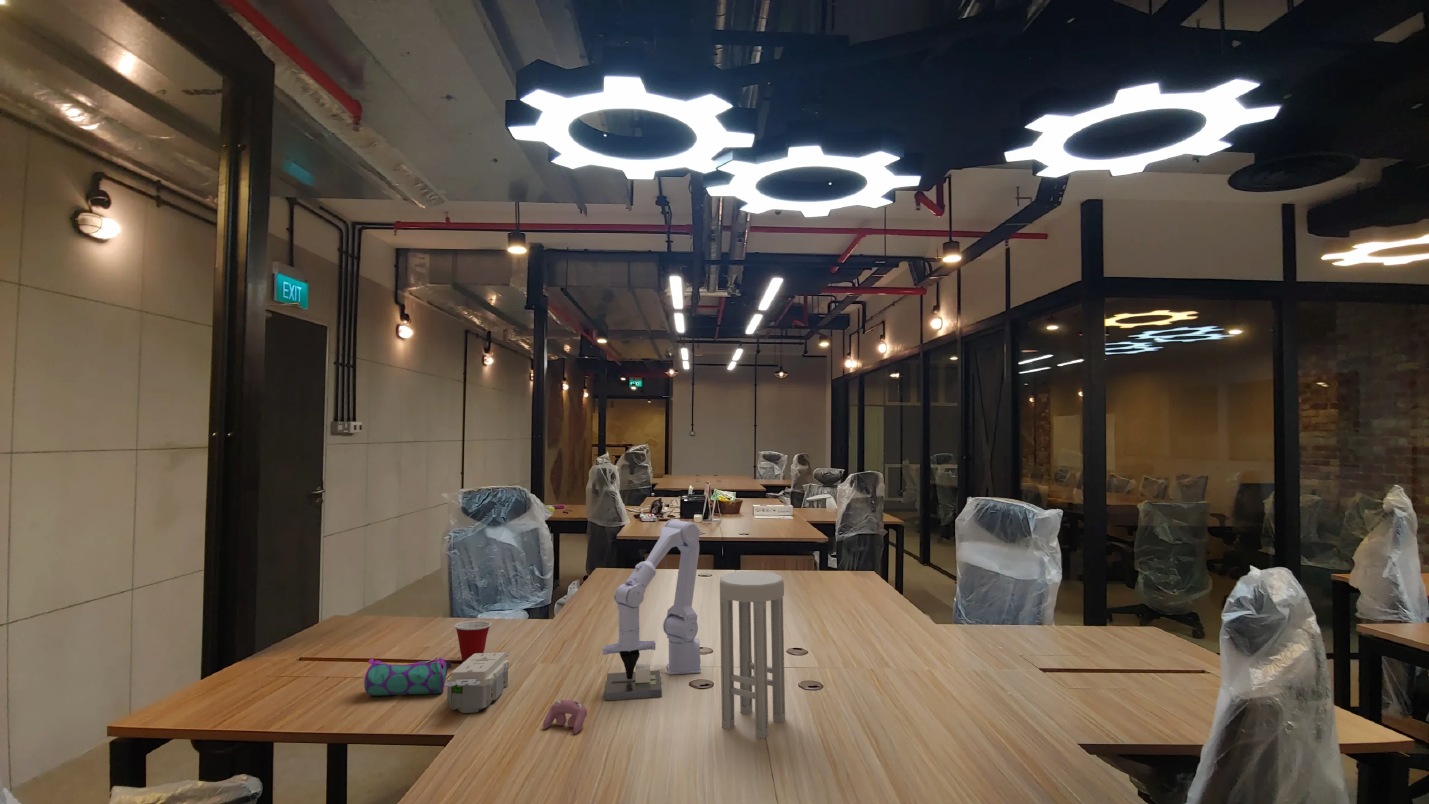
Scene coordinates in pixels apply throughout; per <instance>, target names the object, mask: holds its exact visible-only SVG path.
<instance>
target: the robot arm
mask: <svg viewBox="0 0 1429 804" xmlns="http://www.w3.org/2000/svg"><path fill="white" fill-rule="evenodd" d="M697 525H698V524H696V523H695V522H693V521H684V520H683V521H682V520H677V519H674V518H671V519H668V520H667V521H666V522H665V524H664V526H663V527H662V528H661V529H660V531H661V533H660V537H659V538H658V540H657V541H656V543H655V544H654V546H653V548H652V550H651V551H650V553H649V554H648V557H647V558H646V559H645V561H640V562H638V563H637V564H635V567H634V568H635V569H634V570H633V571H632V573H631V574H630V575H629V577H628V578H627V579H626V580H625V582H624V583H622V584H620V585H619V586H618V587H617V588H616V589H615V593H614V594H613V599H614V602H615V603H616V604H617V609H618V642H617V643H612V644H609V645H602V655H603V656H607V655H610V654H619V656H620V658H621V661H622V663H623V665H624V669H625V672H626V675H627V680H629V679H632V677H633V672H635V669H636V663H638V661H639V659H640V651H647V650H652V651H655V650H656V649H657V648H656V641H655V640H640V605H641V604H642V603H643V601H644V597H645V593H646V589H647V587H648V586H649V584H650V583H651V582H652V580H653V579H654V578H655V576H656V573H657V572H656V568H657V567H658V566H659V564H660V563H661V561H662V560H663V559H664V558H665V556H666V555H667V554H668V553H669V551H670V550H671V549H672V548H675V547H677V549H678V550H679V551H680V557H679V558H680V559H679V565H678V571H677V578H676V579H677V580H676V585H675V586H676V587H675V594H674V600H673V605H672V606H671V607H669V608H668V609H667V612H666V615H665V618H664V621H663V624H662V628H663V632H664V633H665V635H666V639H668V663H667V664H666V667H667V668H666V669H667V674H668V675H683V674H699V673H701V664H702V662H701V661H702V660H701V644H700V638H698V637H697V634H698V632H699V631H698V630H699V625H698V614H697V612H696V611H695V610H694V608H693V599H694V592H695V585H696V579H697V577H696V576H697V571H698V562H699V555H700V542H699V541H700V535H701V534H700V533H701V529H700V528H699V527H698V526H697Z"/></svg>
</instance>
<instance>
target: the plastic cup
mask: <svg viewBox="0 0 1429 804" xmlns="http://www.w3.org/2000/svg"><path fill="white" fill-rule="evenodd" d="M491 626H492V622H489V621H488V620H487V621H486V620H467V621H461V622H457V623H456V624H454V628H455V629H456V634H457V639H458V645H459V653H460V655H461V663H463V662H465V661H466V660H467V659H468V658H469V657H471V656H472V655H473V654H475V653H485V649H486V643H487V638H488V633H489V630H490V627H491Z"/></svg>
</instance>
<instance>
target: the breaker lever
mask: <svg viewBox="0 0 1429 804" xmlns="http://www.w3.org/2000/svg"><path fill="white" fill-rule="evenodd" d="M650 671H651V663H650V662H637V663H636V665H635V672H636V683H644V682H650Z"/></svg>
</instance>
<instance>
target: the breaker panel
mask: <svg viewBox="0 0 1429 804" xmlns="http://www.w3.org/2000/svg"><path fill="white" fill-rule="evenodd" d="M606 674H607V675H606V682H605V690H604V701H605V700H609V701H621V700H623V699H625V700H636V699H637V700H638V699H651V698H662V695H663V688H662V680H661V670H650V682H644V683H636V671H634V672H633V677H632V679H629V680H627V675H626V671H625V672H623V671H622V672H608V673H606ZM623 701H624V700H623Z"/></svg>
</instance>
